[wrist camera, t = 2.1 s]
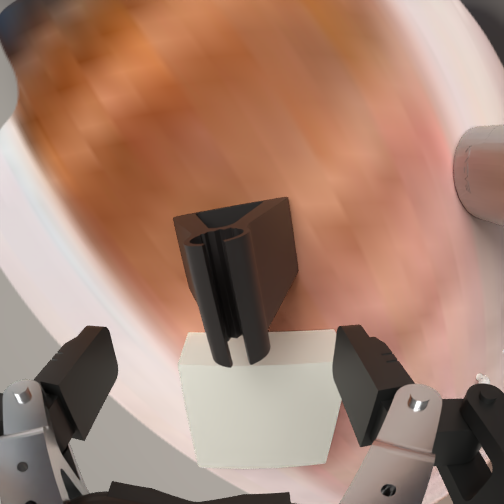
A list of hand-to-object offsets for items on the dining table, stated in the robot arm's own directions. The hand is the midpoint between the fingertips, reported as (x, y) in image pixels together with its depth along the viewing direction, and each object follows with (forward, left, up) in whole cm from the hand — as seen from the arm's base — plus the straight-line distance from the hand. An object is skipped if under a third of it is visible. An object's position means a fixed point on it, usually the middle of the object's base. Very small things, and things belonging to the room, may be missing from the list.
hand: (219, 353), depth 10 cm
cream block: (-2, +15, -15) cm, 21 cm away
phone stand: (0, 0, -15) cm, 15 cm away
